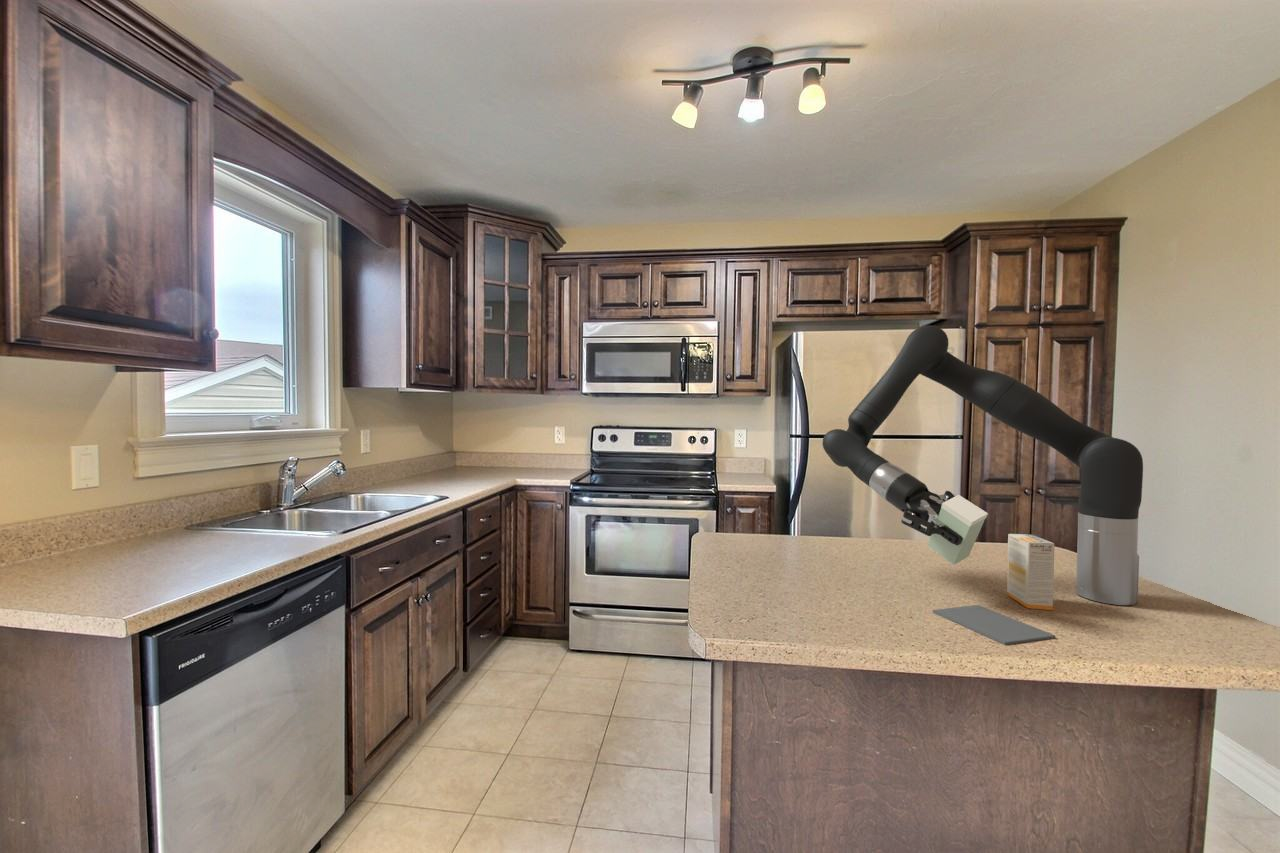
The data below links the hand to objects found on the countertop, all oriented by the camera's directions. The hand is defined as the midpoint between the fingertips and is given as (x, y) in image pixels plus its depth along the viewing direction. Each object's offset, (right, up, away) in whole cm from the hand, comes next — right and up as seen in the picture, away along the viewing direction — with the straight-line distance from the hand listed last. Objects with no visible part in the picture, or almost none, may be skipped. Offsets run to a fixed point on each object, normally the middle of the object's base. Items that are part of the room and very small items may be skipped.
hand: (969, 536), depth 101 cm
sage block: (-1, -4, +6) cm, 7 cm away
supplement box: (+14, -14, +3) cm, 20 cm away
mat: (-1, -14, -8) cm, 16 cm away
